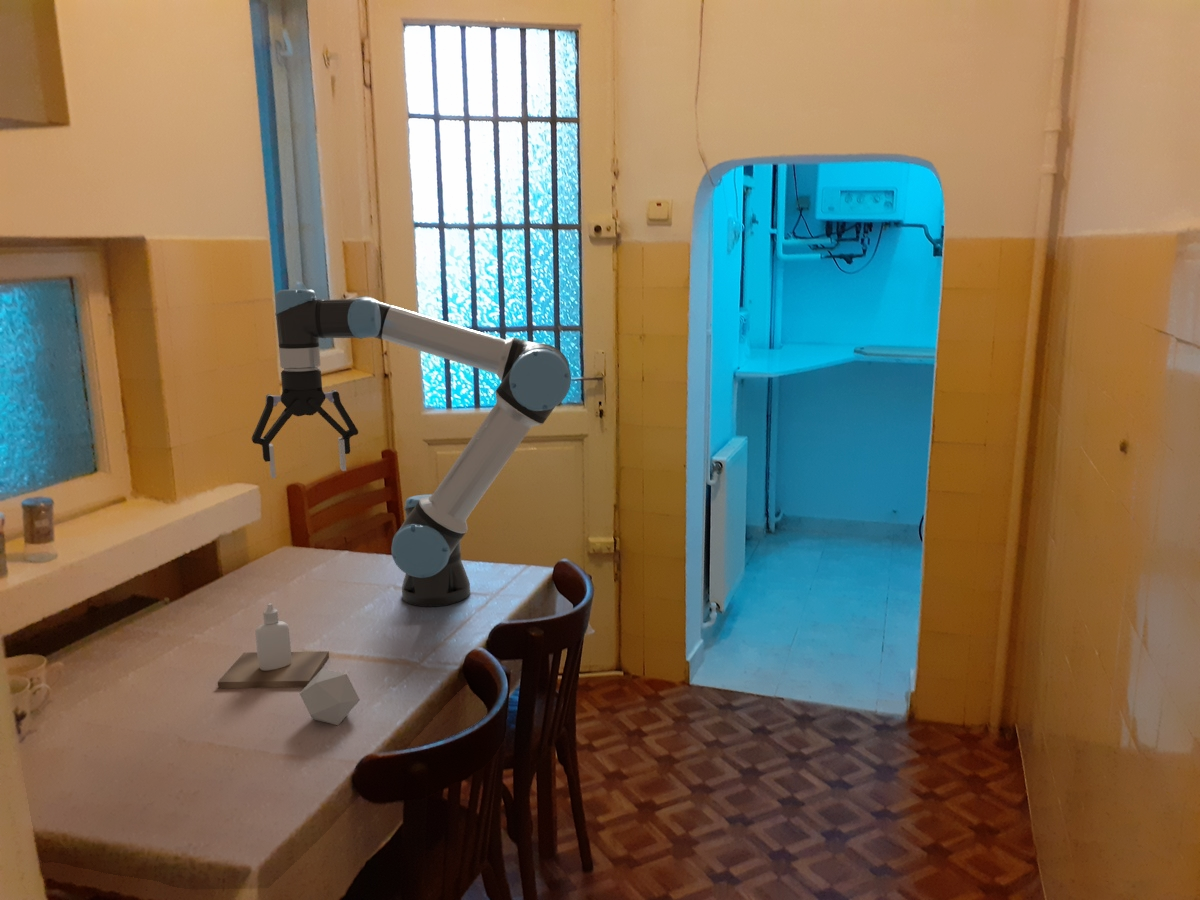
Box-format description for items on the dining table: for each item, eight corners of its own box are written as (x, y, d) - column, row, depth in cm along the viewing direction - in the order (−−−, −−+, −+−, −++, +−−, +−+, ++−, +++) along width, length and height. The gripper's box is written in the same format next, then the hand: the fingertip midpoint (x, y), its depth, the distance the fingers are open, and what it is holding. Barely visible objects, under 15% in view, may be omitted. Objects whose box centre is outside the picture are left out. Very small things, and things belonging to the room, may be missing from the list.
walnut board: (329, 657, 165) (328, 651, 165) (309, 687, 154) (308, 680, 153) (244, 658, 165) (243, 652, 165) (218, 688, 153) (217, 682, 153)
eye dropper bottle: (263, 661, 161) (257, 600, 159) (294, 660, 162) (289, 599, 159) (256, 671, 157) (250, 609, 154) (287, 670, 157) (282, 608, 155)
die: (370, 715, 145) (354, 660, 148) (352, 715, 137) (335, 657, 140) (324, 735, 145) (309, 679, 148) (303, 735, 136) (287, 676, 139)
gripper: (361, 363, 181) (367, 463, 185) (231, 370, 170) (241, 476, 174) (368, 367, 174) (374, 470, 178) (234, 374, 163) (244, 484, 168)
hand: (308, 473), depth 176 cm, fingers open, 13 cm apart
